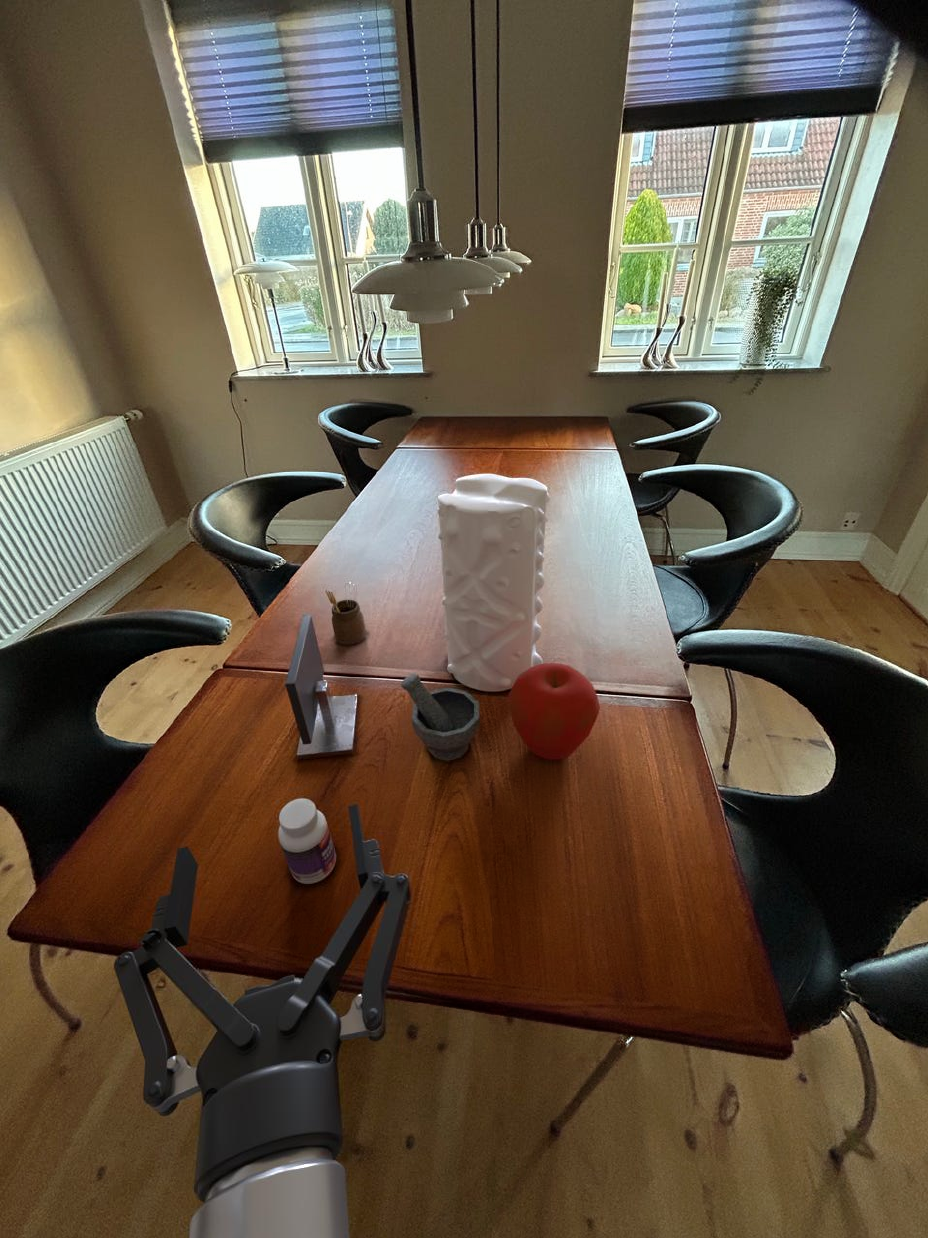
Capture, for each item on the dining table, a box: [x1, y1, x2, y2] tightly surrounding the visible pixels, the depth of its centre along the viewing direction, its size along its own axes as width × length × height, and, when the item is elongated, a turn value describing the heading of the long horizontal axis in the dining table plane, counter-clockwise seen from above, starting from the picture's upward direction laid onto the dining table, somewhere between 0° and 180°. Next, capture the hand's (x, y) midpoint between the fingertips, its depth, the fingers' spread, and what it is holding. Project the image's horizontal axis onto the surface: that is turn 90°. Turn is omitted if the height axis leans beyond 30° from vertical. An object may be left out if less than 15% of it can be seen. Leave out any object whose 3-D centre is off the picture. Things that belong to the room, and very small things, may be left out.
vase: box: [437, 473, 551, 692], centre depth 85 cm, size 17×16×32 cm
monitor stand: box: [296, 679, 359, 761], centre depth 80 cm, size 8×12×8 cm, turn 6°
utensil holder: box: [325, 582, 367, 646], centre depth 99 cm, size 6×6×12 cm
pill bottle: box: [277, 798, 337, 885], centre depth 61 cm, size 5×5×10 cm
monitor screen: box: [284, 614, 325, 745], centre depth 76 cm, size 1×16×11 cm, turn 6°
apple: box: [506, 662, 601, 760], centre depth 74 cm, size 12×12×14 cm
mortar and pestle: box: [401, 673, 480, 762], centre depth 76 cm, size 11×9×12 cm
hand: (274, 834), depth 45 cm, fingers open, 13 cm apart
